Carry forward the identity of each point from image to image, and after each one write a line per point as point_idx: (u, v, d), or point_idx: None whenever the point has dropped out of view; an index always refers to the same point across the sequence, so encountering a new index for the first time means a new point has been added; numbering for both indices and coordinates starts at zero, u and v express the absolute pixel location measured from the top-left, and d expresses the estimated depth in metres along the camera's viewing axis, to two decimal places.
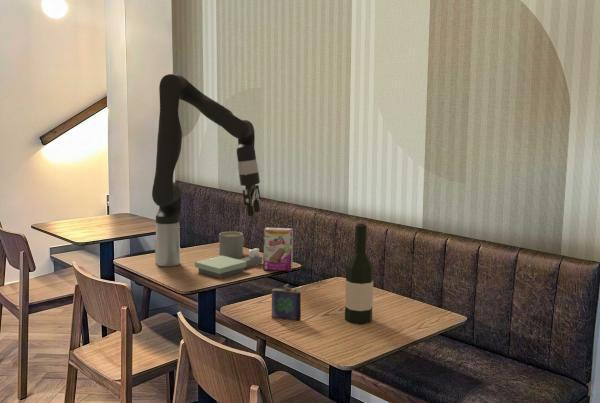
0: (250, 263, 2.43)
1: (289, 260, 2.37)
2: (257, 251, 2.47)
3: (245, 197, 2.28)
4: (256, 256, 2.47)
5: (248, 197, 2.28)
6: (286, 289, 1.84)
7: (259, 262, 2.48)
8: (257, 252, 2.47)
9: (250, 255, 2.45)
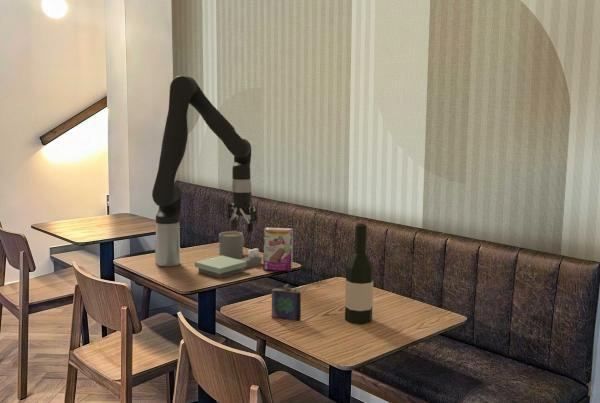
0: (249, 263, 2.43)
1: (289, 260, 2.37)
2: (257, 251, 2.47)
3: (253, 214, 2.35)
4: (256, 256, 2.47)
5: (256, 214, 2.35)
6: (286, 289, 1.84)
7: (259, 262, 2.47)
8: (257, 252, 2.47)
9: (250, 255, 2.45)
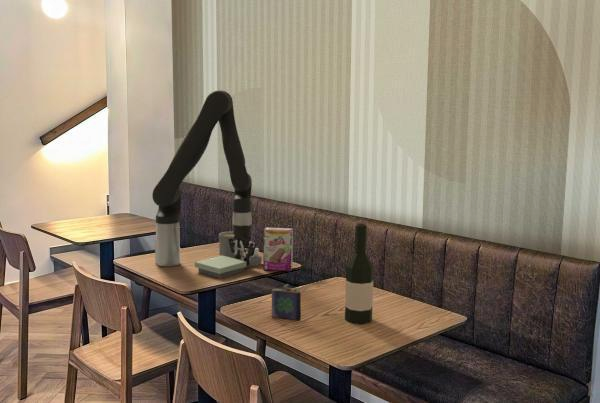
0: (249, 263, 2.43)
1: (289, 260, 2.37)
2: (256, 251, 2.47)
3: (252, 250, 2.38)
4: (255, 256, 2.47)
5: (254, 250, 2.39)
6: (286, 289, 1.84)
7: (258, 262, 2.47)
8: (256, 252, 2.47)
9: None
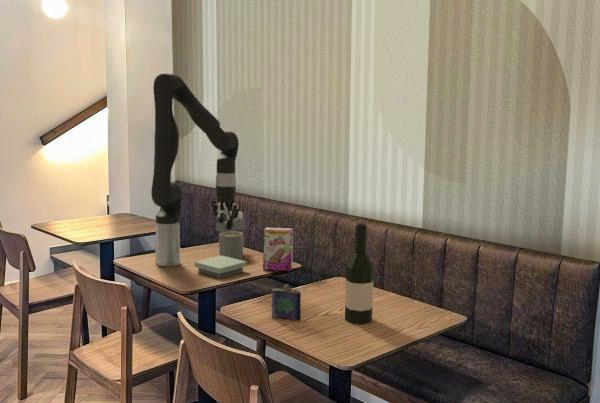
0: (233, 226, 2.35)
1: (289, 260, 2.37)
2: (240, 214, 2.39)
3: (235, 212, 2.30)
4: (239, 219, 2.39)
5: (237, 212, 2.31)
6: (286, 289, 1.84)
7: (242, 226, 2.40)
8: (240, 215, 2.39)
9: None
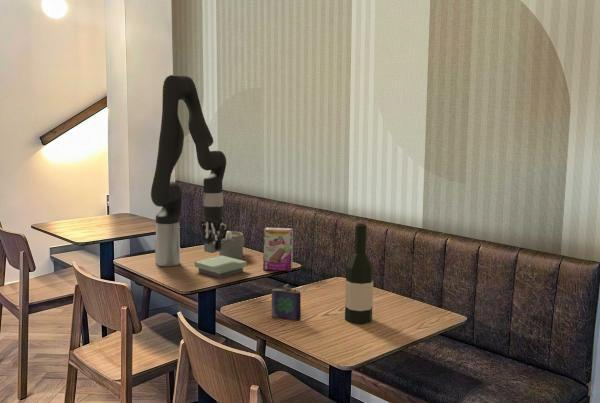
0: (221, 246, 2.32)
1: (289, 260, 2.37)
2: (229, 234, 2.36)
3: (223, 232, 2.26)
4: (228, 239, 2.36)
5: (225, 232, 2.27)
6: (286, 289, 1.84)
7: (231, 245, 2.36)
8: (229, 235, 2.36)
9: None
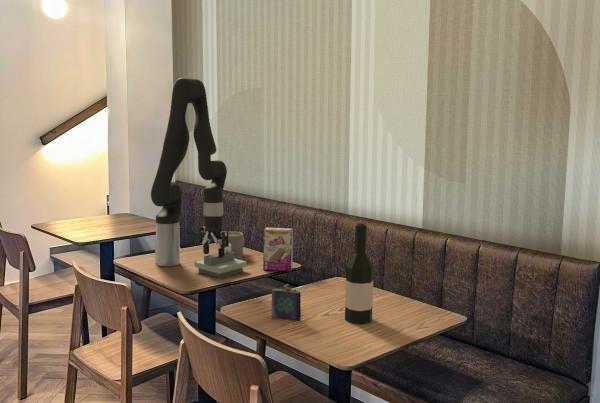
0: (221, 259, 2.32)
1: (289, 260, 2.37)
2: (229, 246, 2.36)
3: (225, 239, 2.26)
4: (228, 252, 2.36)
5: (227, 239, 2.27)
6: (286, 289, 1.84)
7: (231, 258, 2.37)
8: (229, 247, 2.36)
9: None
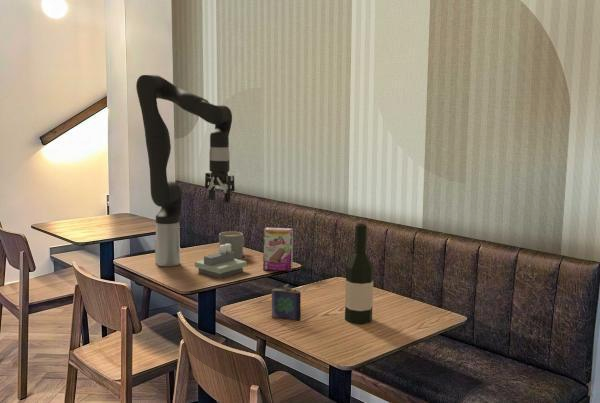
0: (221, 259, 2.32)
1: (289, 260, 2.37)
2: (229, 246, 2.36)
3: (231, 183, 2.27)
4: (228, 252, 2.36)
5: (233, 183, 2.27)
6: (286, 289, 1.84)
7: (231, 258, 2.37)
8: (229, 247, 2.36)
9: (221, 251, 2.34)
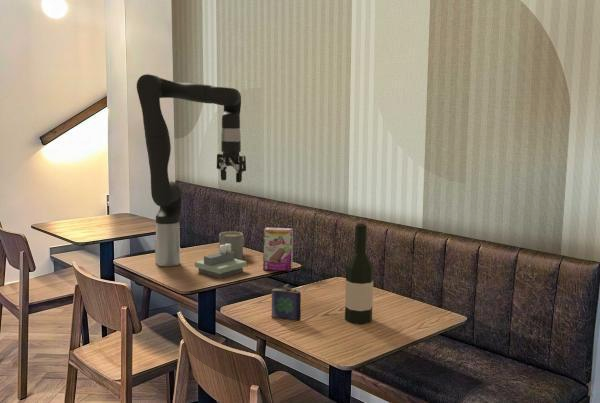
0: (221, 259, 2.32)
1: (289, 260, 2.37)
2: (229, 246, 2.36)
3: (242, 163, 2.34)
4: (228, 252, 2.36)
5: (244, 163, 2.35)
6: (286, 289, 1.84)
7: (231, 258, 2.37)
8: (229, 247, 2.36)
9: (221, 251, 2.34)
